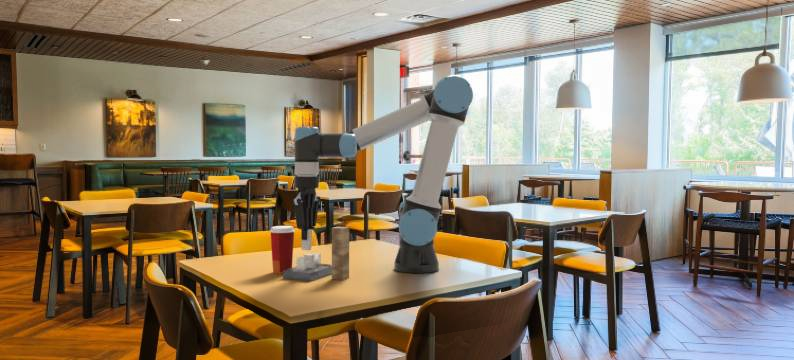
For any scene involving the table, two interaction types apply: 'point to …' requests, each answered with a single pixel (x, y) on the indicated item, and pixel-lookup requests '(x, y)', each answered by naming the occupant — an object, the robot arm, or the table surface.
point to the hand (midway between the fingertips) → (306, 249)
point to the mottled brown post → (340, 253)
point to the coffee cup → (282, 247)
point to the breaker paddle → (310, 260)
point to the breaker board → (308, 269)
